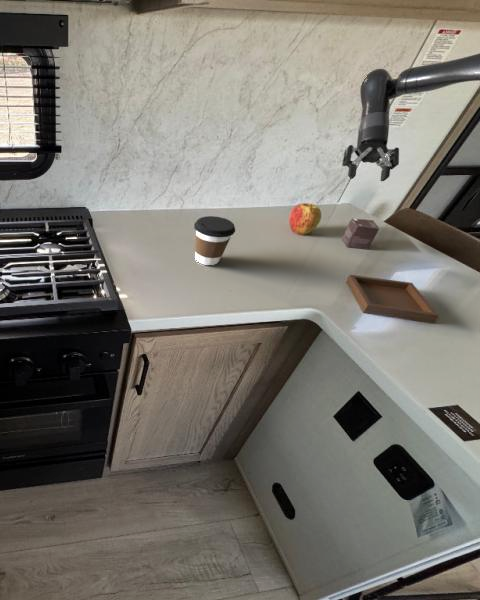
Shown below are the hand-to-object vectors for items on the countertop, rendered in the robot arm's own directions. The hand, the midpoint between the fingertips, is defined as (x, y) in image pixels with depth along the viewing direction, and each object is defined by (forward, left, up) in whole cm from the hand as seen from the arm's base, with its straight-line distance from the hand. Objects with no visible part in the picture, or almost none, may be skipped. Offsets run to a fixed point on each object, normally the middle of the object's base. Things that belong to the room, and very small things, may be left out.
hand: (368, 178), depth 108 cm
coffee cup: (+45, +36, -17) cm, 60 cm away
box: (0, +12, -17) cm, 21 cm away
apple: (+15, +7, -17) cm, 24 cm away
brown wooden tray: (+2, +44, -17) cm, 47 cm away
